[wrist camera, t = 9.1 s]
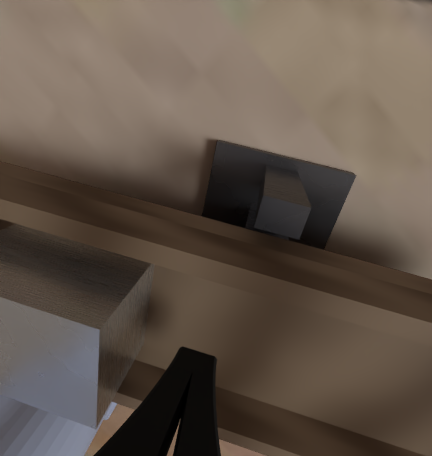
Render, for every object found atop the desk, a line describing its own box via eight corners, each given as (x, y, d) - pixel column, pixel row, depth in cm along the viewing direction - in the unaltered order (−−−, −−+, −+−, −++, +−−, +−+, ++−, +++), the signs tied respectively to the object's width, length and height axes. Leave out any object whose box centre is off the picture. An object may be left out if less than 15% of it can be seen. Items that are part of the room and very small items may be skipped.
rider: (55, 293, 15) (-64, 365, 11) (50, 211, 13) (-101, 258, 8) (158, 351, 13) (66, 466, 9) (172, 266, 11) (60, 363, 7)
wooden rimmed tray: (11, 308, 16) (-42, 348, 14) (-13, 157, 12) (-93, 171, 10) (469, 458, 14) (516, 542, 11) (618, 330, 10) (743, 412, 7)
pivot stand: (180, 331, 21) (147, 411, 15) (219, 139, 14) (187, 160, 9) (272, 359, 20) (272, 453, 15) (353, 172, 14) (403, 215, 8)
